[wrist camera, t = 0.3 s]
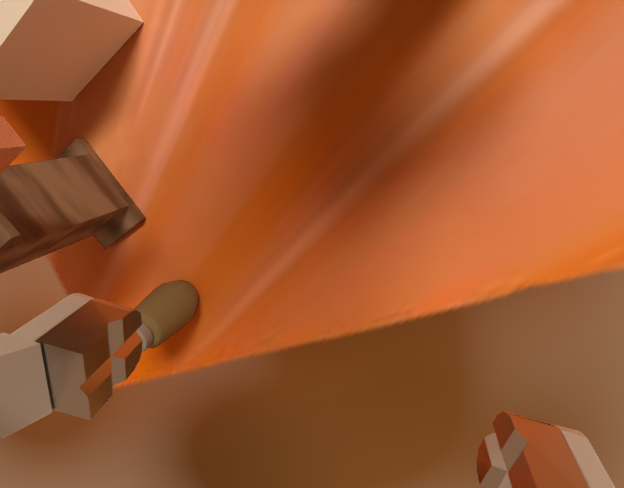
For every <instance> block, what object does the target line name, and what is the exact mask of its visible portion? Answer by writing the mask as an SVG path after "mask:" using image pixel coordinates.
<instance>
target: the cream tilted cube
mask: <svg viewBox="0 0 624 488" xmlns="http://www.w3.org/2000/svg"><path fill="white" fill-rule="evenodd" d="M143 23H144V22H143V20H142V19H141V18H140V16H139V15H138V13H137V12H136V10H135V9H134V8H133V6H132V5H131V3H130V2H129V0H0V100H40V101H73V100H74V98H75V97H76V96H77V95H78V94H79V93H80V92H81V91H82V90H83V89H84V87H85V86H86V85H87V84H88V83H89V82H90V81H91V80H92V79H93V78H94V77H95V75H96V74H97V73H98V72H99V71H100V70H101V69H102V68H103V67H104V66H105V64H106V63H107V62H108V61H109V60H110V59H111V58H112V57H113V56H114V55H115V53H116V52H117V51H118V50H119V49H120V48H121V47H122V46H123V45H124V44H125V42H126V41H127V40H128V39H129V38H130V37H131V36H132V35H133V34H134V33H135V31H136V30H137V29H138V28H139V27H140V26H141V25H142V24H143Z"/></svg>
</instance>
